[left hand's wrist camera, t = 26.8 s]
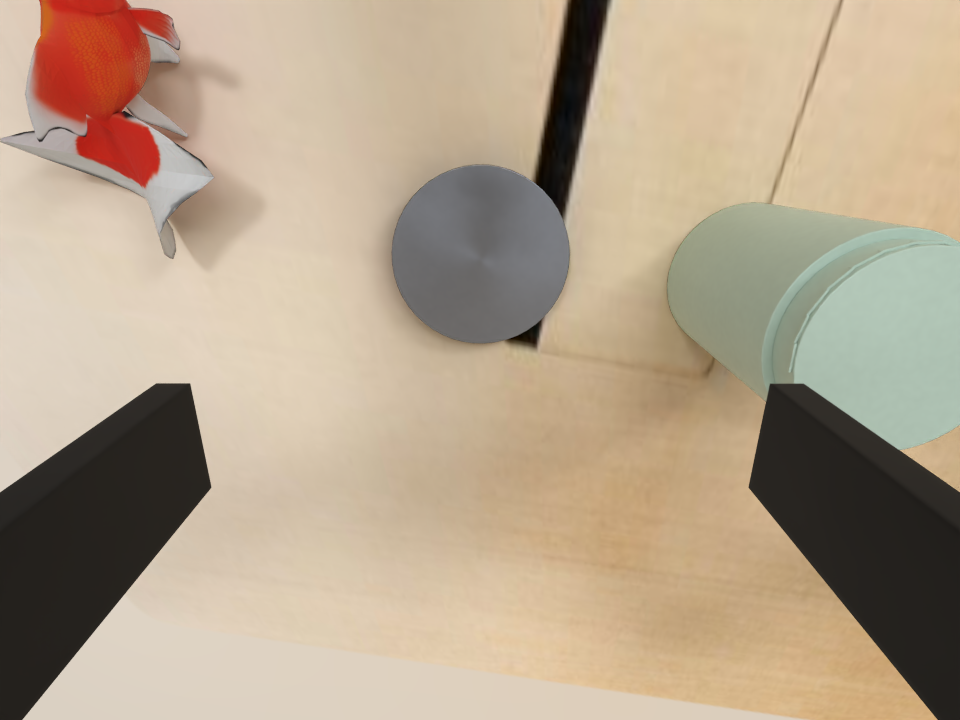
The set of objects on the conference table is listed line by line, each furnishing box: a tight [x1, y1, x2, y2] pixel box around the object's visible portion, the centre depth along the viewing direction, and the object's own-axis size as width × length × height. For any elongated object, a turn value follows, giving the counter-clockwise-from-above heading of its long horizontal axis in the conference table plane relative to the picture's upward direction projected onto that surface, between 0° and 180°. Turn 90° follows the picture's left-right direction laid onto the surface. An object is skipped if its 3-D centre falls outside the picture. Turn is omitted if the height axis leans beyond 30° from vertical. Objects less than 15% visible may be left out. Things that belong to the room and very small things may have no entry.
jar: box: [667, 203, 960, 450], centre depth 30 cm, size 10×10×15 cm
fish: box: [0, 0, 214, 259], centre depth 30 cm, size 11×16×10 cm
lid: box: [392, 165, 570, 343], centre depth 36 cm, size 11×11×2 cm
